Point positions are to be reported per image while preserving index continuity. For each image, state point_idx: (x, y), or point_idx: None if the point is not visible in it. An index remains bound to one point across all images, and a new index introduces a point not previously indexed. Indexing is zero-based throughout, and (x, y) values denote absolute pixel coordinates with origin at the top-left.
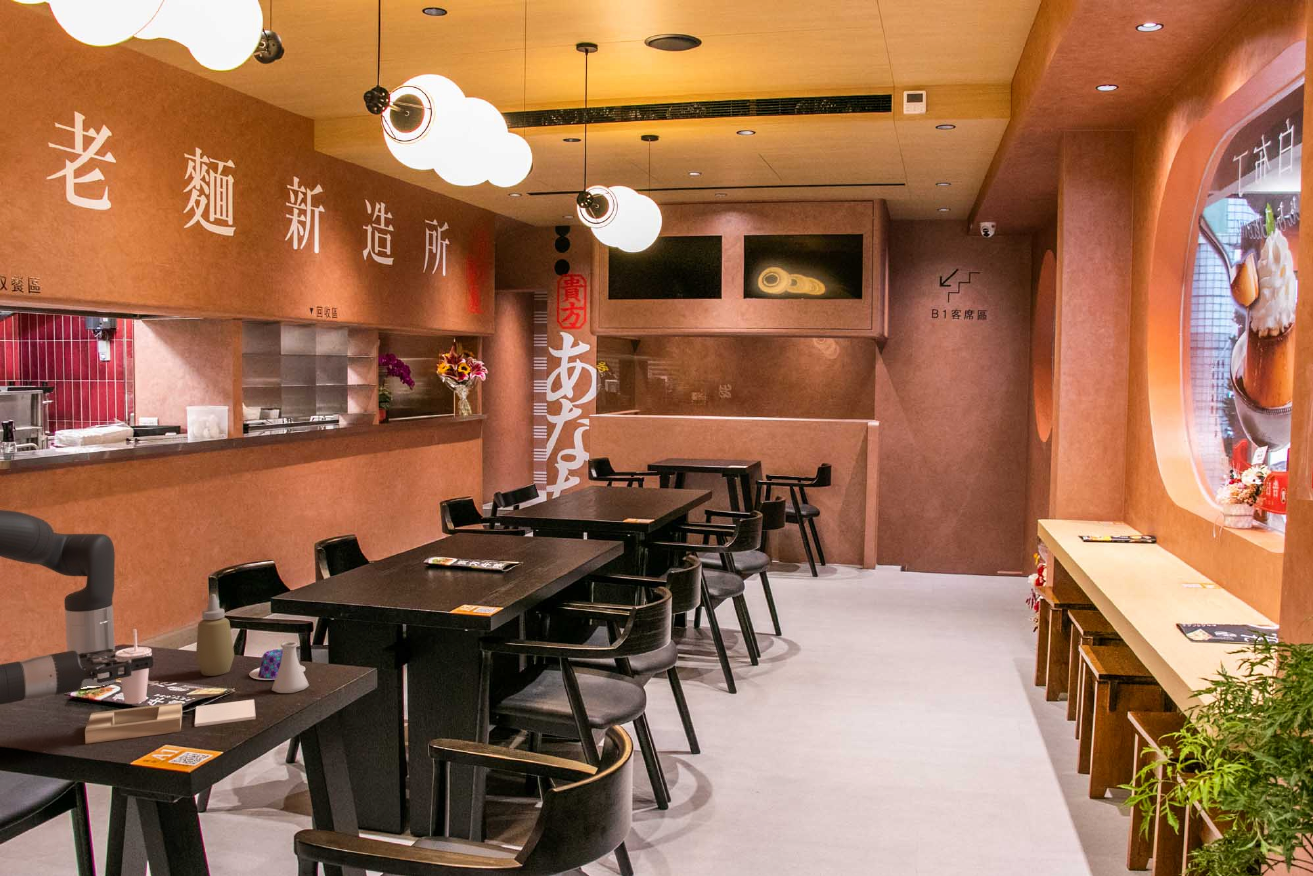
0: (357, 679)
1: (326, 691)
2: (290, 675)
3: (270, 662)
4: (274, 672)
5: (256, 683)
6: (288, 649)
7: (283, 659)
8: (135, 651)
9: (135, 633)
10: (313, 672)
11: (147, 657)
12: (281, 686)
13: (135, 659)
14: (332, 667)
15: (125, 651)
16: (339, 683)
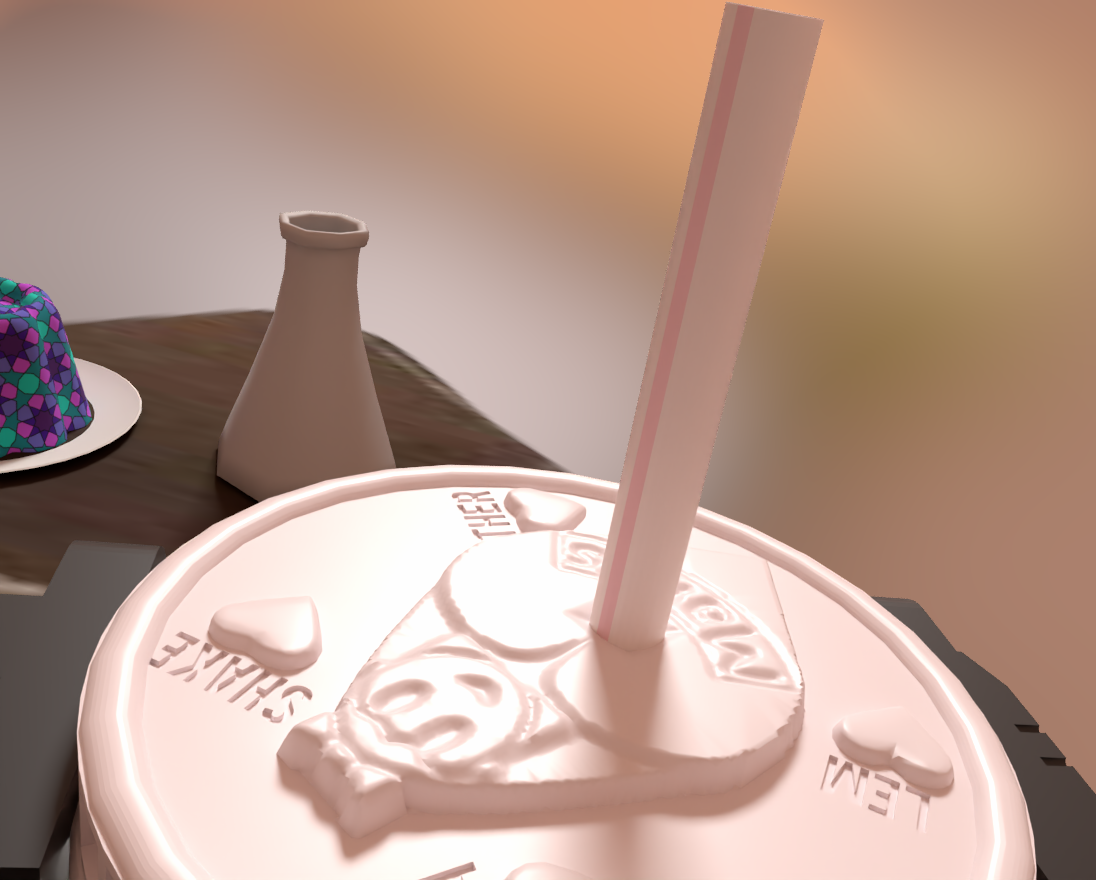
0: (399, 353)
1: (473, 430)
2: (375, 397)
3: (6, 360)
4: (49, 410)
5: (38, 500)
6: (353, 254)
7: (322, 318)
8: (687, 641)
9: (790, 146)
10: (142, 367)
11: (947, 644)
12: (351, 468)
13: (1082, 817)
14: (148, 329)
15: (495, 778)
16: (399, 385)
